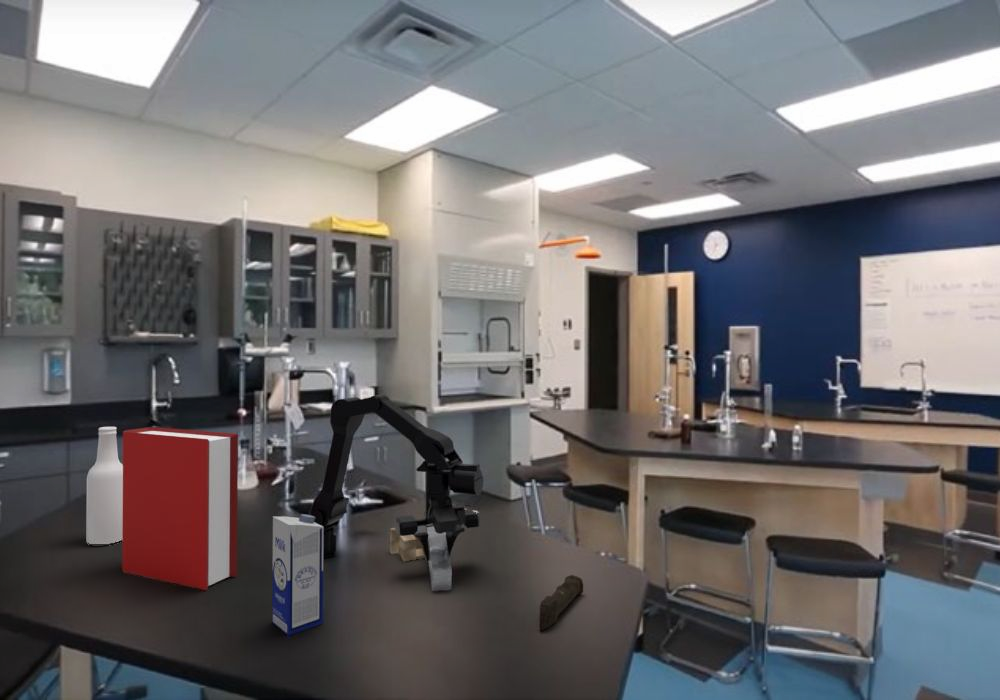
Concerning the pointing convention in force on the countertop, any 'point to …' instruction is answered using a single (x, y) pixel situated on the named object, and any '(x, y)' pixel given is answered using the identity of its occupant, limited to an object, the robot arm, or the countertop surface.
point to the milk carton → (297, 573)
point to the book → (180, 505)
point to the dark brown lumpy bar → (559, 600)
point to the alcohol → (105, 492)
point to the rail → (439, 560)
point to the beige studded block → (406, 546)
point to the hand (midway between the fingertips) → (437, 559)
